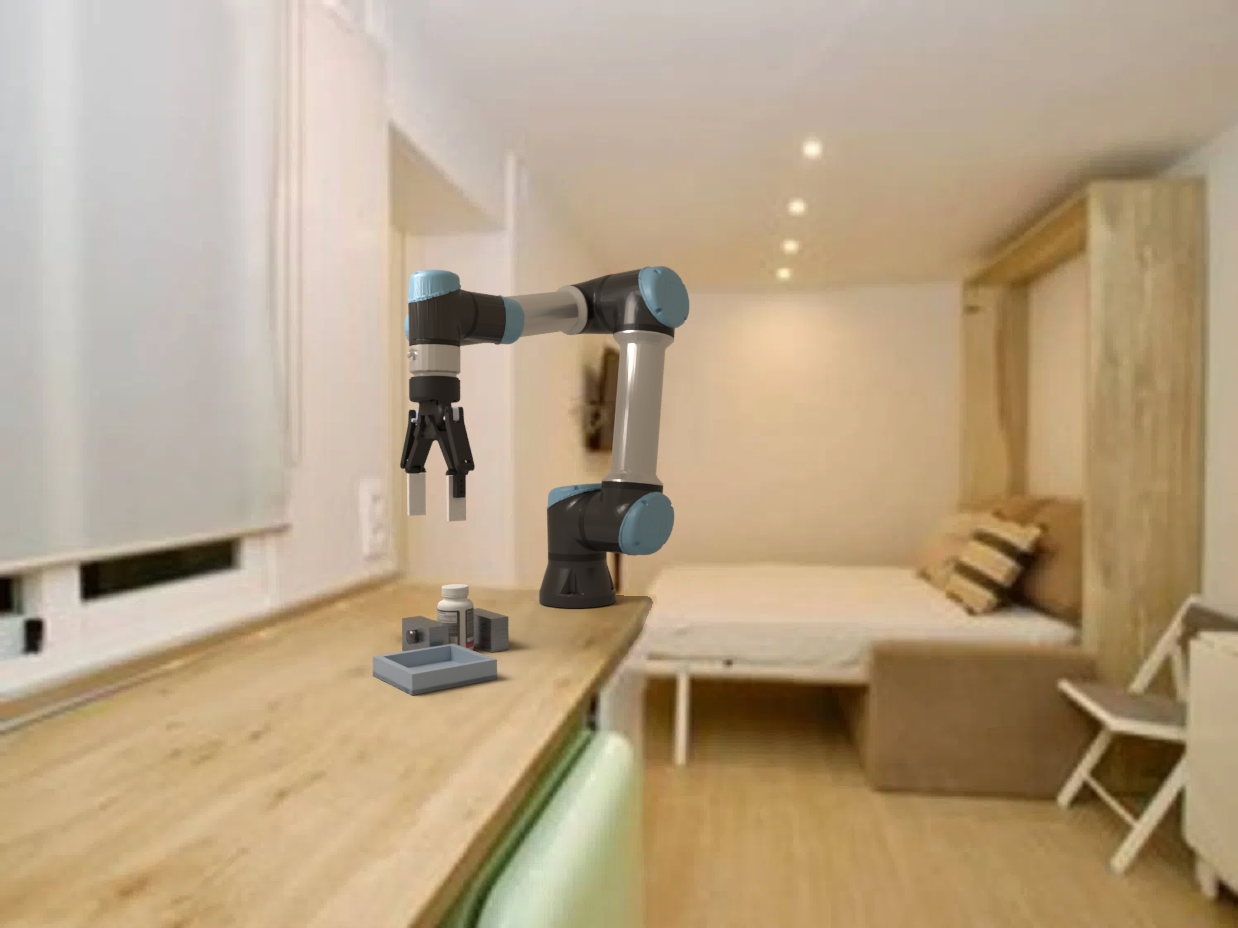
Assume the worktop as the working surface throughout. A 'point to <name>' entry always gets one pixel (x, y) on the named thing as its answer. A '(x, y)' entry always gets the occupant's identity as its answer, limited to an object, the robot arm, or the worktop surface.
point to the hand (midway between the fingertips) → (435, 518)
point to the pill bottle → (457, 614)
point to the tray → (434, 668)
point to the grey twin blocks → (432, 633)
